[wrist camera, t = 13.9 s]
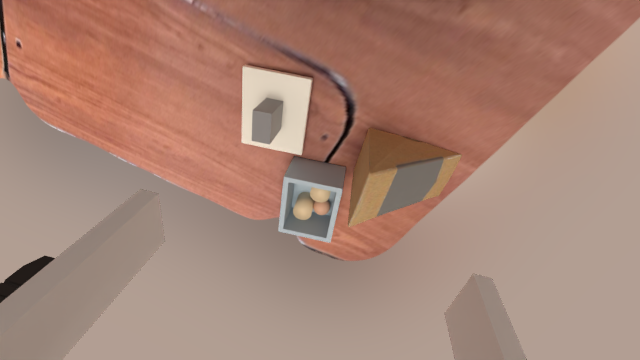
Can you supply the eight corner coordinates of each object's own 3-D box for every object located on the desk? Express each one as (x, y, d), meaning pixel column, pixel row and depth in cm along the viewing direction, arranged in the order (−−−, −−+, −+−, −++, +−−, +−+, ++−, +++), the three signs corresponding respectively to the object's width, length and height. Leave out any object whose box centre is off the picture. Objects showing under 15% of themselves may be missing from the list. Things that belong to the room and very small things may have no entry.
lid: (248, 63, 43) (224, 74, 36) (314, 76, 43) (303, 90, 36) (246, 137, 50) (226, 159, 43) (304, 149, 49) (292, 173, 42)
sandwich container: (439, 197, 50) (462, 262, 37) (352, 171, 50) (346, 228, 37) (464, 153, 46) (500, 211, 33) (369, 125, 46) (369, 173, 33)
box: (294, 156, 50) (283, 176, 44) (346, 166, 50) (342, 189, 44) (288, 207, 56) (278, 231, 50) (334, 217, 55) (330, 242, 49)
